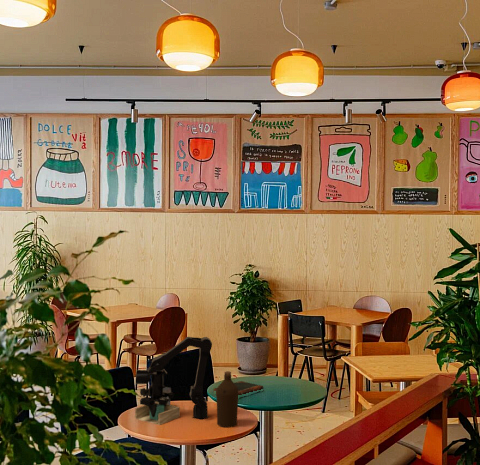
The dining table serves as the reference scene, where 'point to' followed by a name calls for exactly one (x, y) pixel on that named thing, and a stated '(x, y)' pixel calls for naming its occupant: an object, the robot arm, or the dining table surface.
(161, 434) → the dining table surface
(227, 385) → the olive oil
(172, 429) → the dining table surface
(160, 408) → the teal block
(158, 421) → the birch crate
